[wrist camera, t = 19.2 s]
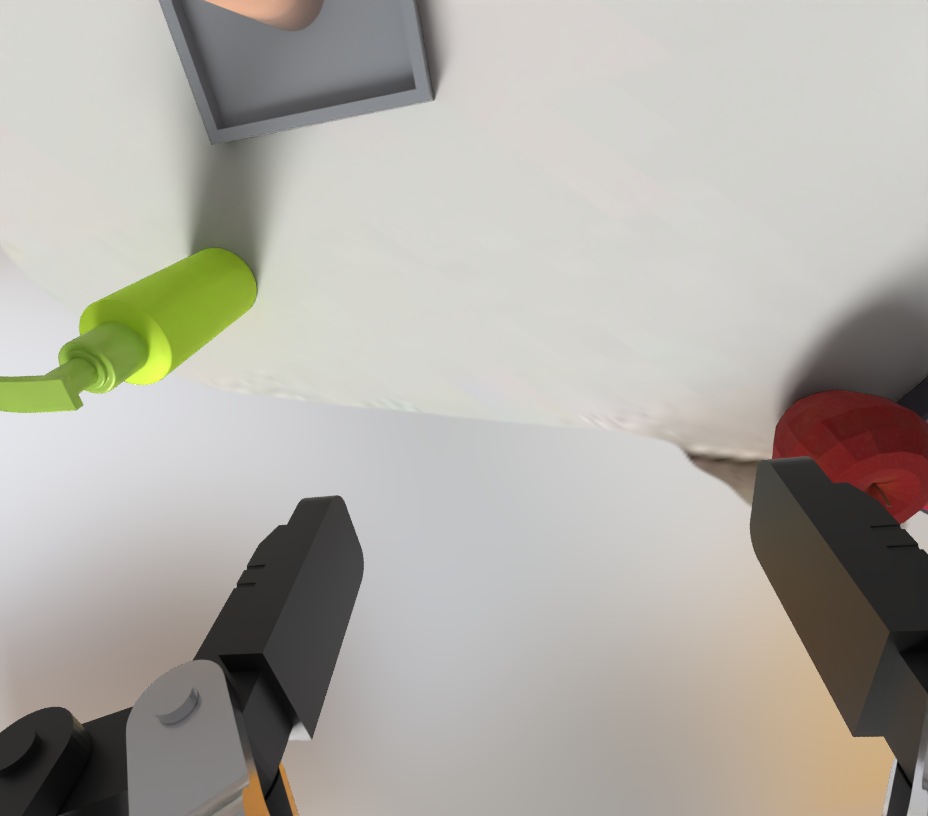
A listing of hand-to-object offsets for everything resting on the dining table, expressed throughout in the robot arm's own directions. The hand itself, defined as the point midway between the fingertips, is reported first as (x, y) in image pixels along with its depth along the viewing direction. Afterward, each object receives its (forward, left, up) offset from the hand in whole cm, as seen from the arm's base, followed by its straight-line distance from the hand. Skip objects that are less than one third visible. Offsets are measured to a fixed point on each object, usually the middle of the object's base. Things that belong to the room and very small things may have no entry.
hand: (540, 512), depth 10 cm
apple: (-23, +22, -34) cm, 47 cm away
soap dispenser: (+26, +2, -34) cm, 43 cm away
